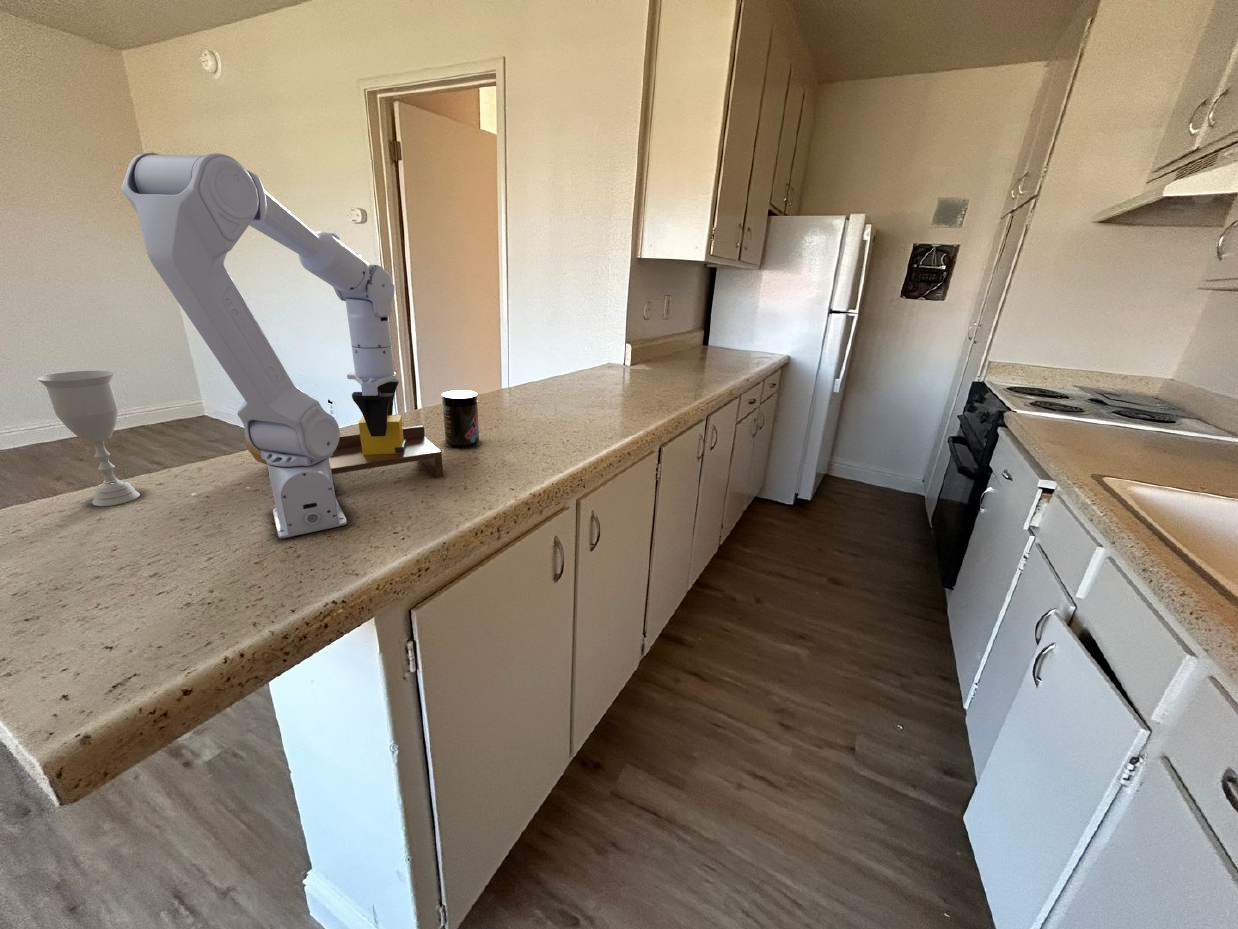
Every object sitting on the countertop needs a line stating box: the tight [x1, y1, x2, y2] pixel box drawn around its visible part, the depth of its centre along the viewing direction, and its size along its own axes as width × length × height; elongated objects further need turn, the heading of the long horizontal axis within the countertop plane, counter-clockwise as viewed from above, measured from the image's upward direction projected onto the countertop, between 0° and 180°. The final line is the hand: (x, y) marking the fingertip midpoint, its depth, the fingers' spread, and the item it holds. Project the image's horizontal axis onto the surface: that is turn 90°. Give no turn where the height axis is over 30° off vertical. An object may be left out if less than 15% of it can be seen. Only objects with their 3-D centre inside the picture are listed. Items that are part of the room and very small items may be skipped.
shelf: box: [329, 425, 444, 478], centre depth 86 cm, size 10×18×6 cm, turn 126°
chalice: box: [36, 370, 141, 507], centre depth 71 cm, size 7×7×18 cm
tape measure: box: [358, 414, 406, 455], centre depth 85 cm, size 4×6×6 cm, turn 107°
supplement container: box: [441, 390, 480, 449], centre depth 103 cm, size 7×7×10 cm
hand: (381, 428), depth 84 cm, fingers open, 7 cm apart
